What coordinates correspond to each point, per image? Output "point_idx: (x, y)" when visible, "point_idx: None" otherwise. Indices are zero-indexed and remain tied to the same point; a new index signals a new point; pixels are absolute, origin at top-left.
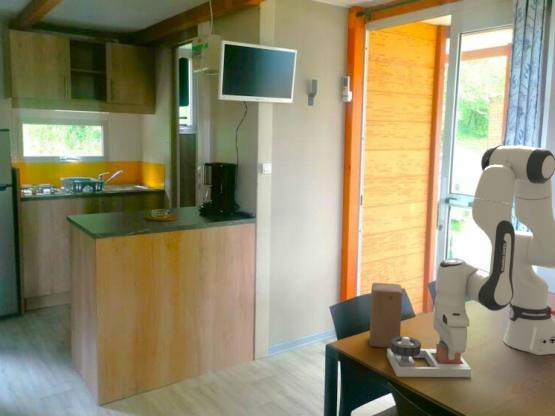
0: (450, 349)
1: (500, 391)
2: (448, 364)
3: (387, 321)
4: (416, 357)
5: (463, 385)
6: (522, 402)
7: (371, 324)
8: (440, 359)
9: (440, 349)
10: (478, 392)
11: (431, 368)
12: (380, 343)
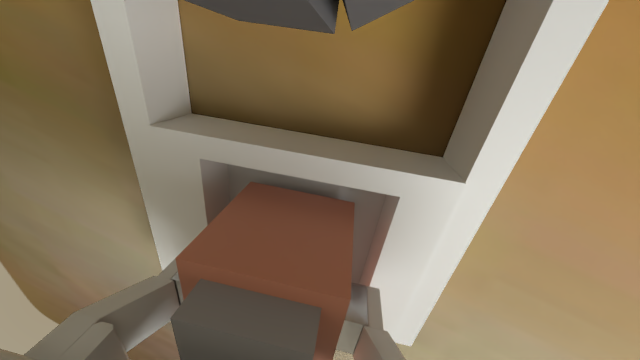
0: (64, 326)
1: (105, 280)
2: (198, 218)
3: None
4: (470, 93)
5: (109, 193)
6: (57, 291)
7: None
8: (241, 203)
9: (203, 262)
10: (69, 215)
11: (115, 72)
12: None
